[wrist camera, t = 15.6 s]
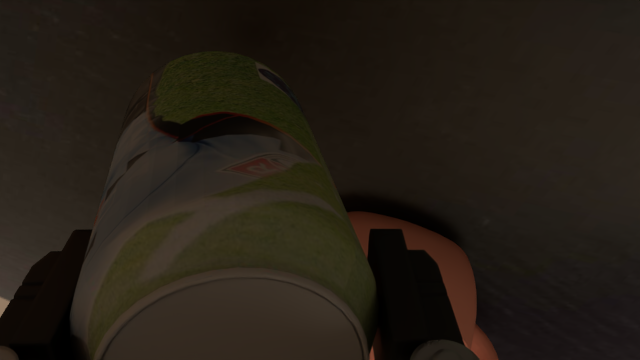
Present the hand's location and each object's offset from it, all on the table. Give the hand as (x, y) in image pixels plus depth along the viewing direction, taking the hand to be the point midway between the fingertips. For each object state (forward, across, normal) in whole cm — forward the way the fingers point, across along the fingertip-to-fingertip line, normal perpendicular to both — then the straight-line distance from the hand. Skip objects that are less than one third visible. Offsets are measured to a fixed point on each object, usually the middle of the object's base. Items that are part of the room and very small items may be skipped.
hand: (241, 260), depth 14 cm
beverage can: (+8, +1, 0) cm, 8 cm away
